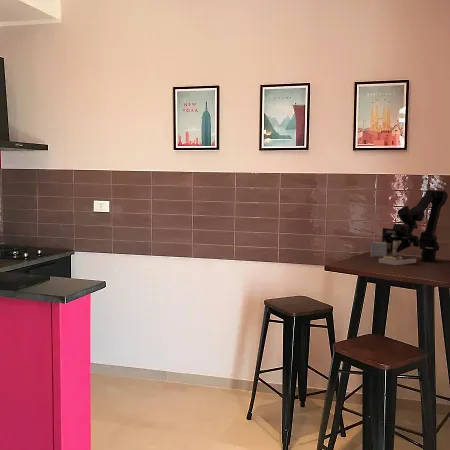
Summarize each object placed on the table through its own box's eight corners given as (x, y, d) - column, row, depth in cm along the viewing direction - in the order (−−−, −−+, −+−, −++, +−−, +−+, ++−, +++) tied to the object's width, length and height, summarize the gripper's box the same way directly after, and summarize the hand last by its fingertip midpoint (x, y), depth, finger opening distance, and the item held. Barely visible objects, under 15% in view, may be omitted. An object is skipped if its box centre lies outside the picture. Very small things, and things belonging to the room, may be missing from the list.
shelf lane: (398, 262, 277) (399, 256, 277) (416, 265, 269) (416, 258, 269) (378, 264, 265) (378, 258, 265) (395, 267, 257) (396, 261, 257)
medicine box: (384, 257, 293) (385, 242, 292) (386, 259, 289) (387, 243, 288) (370, 257, 294) (370, 241, 293) (371, 258, 289) (372, 242, 289)
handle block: (390, 261, 269) (392, 240, 268) (402, 263, 264) (403, 241, 263) (383, 262, 264) (384, 240, 263) (394, 264, 259) (395, 242, 259)
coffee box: (380, 256, 298) (382, 228, 296) (380, 255, 304) (381, 227, 303) (397, 257, 296) (399, 229, 294) (396, 256, 302) (398, 228, 301)
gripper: (385, 216, 273) (372, 238, 267) (418, 219, 259) (405, 242, 253) (393, 231, 279) (380, 253, 273) (426, 234, 265) (413, 258, 259)
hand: (393, 251), depth 264 cm, fingers closed on handle block, 3 cm apart
